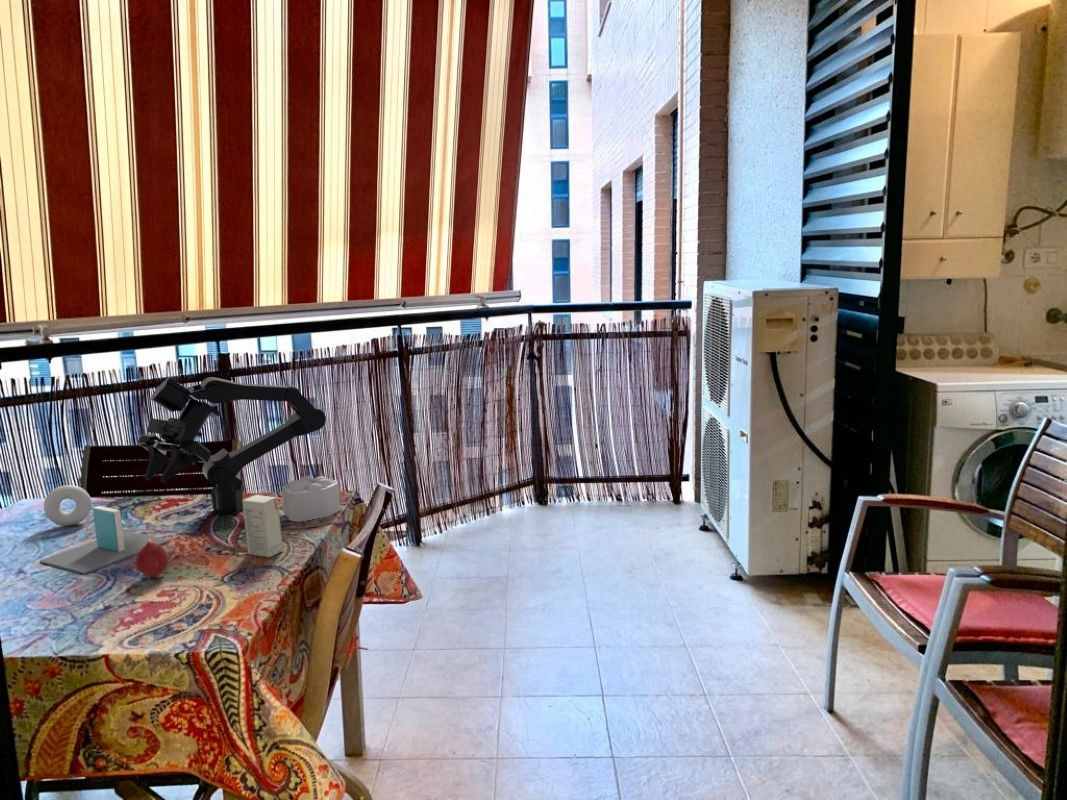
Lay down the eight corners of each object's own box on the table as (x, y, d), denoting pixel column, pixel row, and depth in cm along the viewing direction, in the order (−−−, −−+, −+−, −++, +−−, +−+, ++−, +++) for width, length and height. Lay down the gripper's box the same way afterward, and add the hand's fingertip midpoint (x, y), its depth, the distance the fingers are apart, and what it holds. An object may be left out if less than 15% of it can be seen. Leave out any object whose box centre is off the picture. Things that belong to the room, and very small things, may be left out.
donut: (94, 519, 194) (89, 480, 192) (94, 524, 190) (89, 484, 189) (47, 526, 189) (41, 486, 187) (45, 531, 186) (40, 490, 184)
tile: (103, 544, 176) (98, 505, 174) (124, 549, 172) (119, 510, 171) (97, 547, 174) (92, 508, 172) (117, 552, 171) (113, 512, 169)
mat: (125, 532, 185) (125, 530, 184) (169, 541, 178) (169, 540, 178) (39, 562, 167) (39, 560, 167) (85, 574, 160) (84, 572, 160)
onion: (176, 573, 160) (172, 536, 158) (154, 585, 155) (150, 546, 153) (153, 570, 162) (149, 533, 160) (131, 581, 157) (126, 543, 155)
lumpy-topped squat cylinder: (281, 512, 197) (278, 478, 195) (333, 503, 204) (331, 470, 202) (292, 524, 188) (289, 489, 187) (345, 514, 195) (343, 480, 193)
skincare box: (283, 551, 171) (279, 496, 169) (269, 558, 167) (264, 502, 165) (261, 547, 174) (256, 493, 171) (246, 554, 170) (241, 499, 168)
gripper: (140, 401, 188) (102, 457, 180) (195, 407, 179) (158, 466, 172) (172, 426, 196) (137, 481, 188) (226, 433, 188) (192, 491, 180)
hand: (154, 479), depth 182 cm, fingers open, 5 cm apart
